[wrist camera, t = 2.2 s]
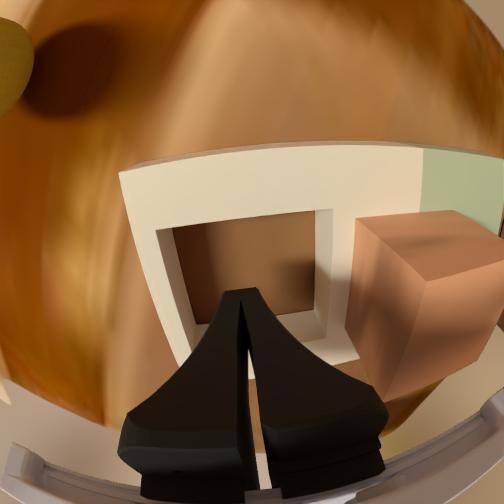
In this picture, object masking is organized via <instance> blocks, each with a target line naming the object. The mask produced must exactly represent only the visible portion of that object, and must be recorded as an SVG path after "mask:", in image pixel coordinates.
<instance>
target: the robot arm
mask: <svg viewBox="0 0 504 504" xmlns="http://www.w3.org/2000/svg"><path fill="white" fill-rule="evenodd" d="M248 349H249V354H250V358H251V363H252V367H253V371H254V375H255V380H256V387H257V395H258V404H259V413H260V422H261V428H262V434H263V439H264V445H265V450H266V456H267V463H268V470H269V476H270V480H271V485H272V489H263V490H260V484H259V477H258V470H257V464H256V456H255V448H254V441H253V433H252V424H251V416H250V407H249V392H248ZM388 419H389V414H388V411H387V409H386V406H385V404H384V403H383V401H382V399H381V398H380V396H379V395H378V393H377V392H376V391H375V389H374V388H373V386H371V385H369V384H366V383H364V382H362V381H360V380H357V379H355V378H353V377H351V376H349V375H347V374H345V373H343V372H341V371H340V370H338V369H336V368H334V367H333V366H331V365H330V364H328V363H327V362H325V361H324V360H322V359H321V358H319V357H318V356H317V355H315V354H314V353H313V352H311V351H310V350H309V349H308V348H306V347H305V346H304V345H303V344H302V343H300V342H299V341H298V340H297V339H296V338H295V337H294V336H293V335H292V334H291V333H290V332H289V331H288V330H287V329H286V328H285V327H284V326H283V325H282V323H281V322H280V321H279V320H278V319H277V317H276V316H275V315H274V314H273V312H272V311H271V310H270V308H269V307H268V305H267V304H266V302H265V301H264V299H263V298H262V296H261V294H260V292H259V289H257V288H256V287H254V288H246V289H238V290H230V291H225V292H224V293H223V294H222V297H221V300H220V303H219V305H218V308H217V310H216V312H215V314H214V316H213V318H212V320H211V322H210V324H209V326H208V328H207V329H206V331H205V333H204V335H203V336H202V338H201V340H200V341H199V343H198V344H197V346H196V347H195V349H194V350H193V351H192V353H191V354H190V355H189V357H188V358H187V359H186V361H185V362H184V363H183V364H182V365H181V367H180V368H179V369H178V370H177V371H176V372H175V373H174V374H173V376H172V377H171V378H170V379H169V380H168V381H166V382H165V383H164V384H163V385H162V386H161V387H160V388H159V389H158V390H157V391H156V392H155V393H154V394H152V395H151V396H150V397H149V398H148V399H146V400H145V401H143V402H142V403H141V404H139V405H138V406H137V407H135V408H134V409H133V410H131V411H130V412H128V413H127V416H126V419H125V421H124V424H123V427H122V431H121V436H120V441H119V446H118V451H117V453H118V456H119V457H120V458H121V459H122V460H123V461H124V462H125V463H126V464H127V465H129V466H130V467H132V468H133V469H134V470H136V471H137V472H139V473H140V474H141V475H142V478H141V487H138V486H132V485H126V484H121V483H117V482H112V481H107V480H103V479H99V478H95V477H92V476H88V475H84V474H81V473H78V472H74V471H71V470H68V469H65V468H63V467H60V466H57V465H54V464H52V463H49V462H47V461H44V459H43V458H41V457H40V456H38V455H37V454H36V453H34V452H32V451H30V450H29V449H27V448H25V447H22V446H20V445H18V444H16V443H12V445H11V448H10V451H9V454H8V457H7V461H6V464H5V467H4V471H3V475H2V479H1V483H0V488H1V489H2V490H3V491H4V492H6V493H7V494H9V495H10V496H12V497H14V498H15V499H16V500H18V501H20V502H21V503H23V504H446V503H448V502H449V501H451V500H452V499H454V498H455V497H457V496H458V495H459V494H461V493H462V492H463V491H465V490H466V489H467V488H469V487H470V486H471V485H473V484H474V483H475V482H476V481H478V480H479V479H480V478H481V477H483V476H484V475H485V474H486V473H487V472H488V471H490V470H491V469H492V468H493V467H494V466H495V465H496V464H497V463H498V462H499V461H500V460H501V459H503V457H504V387H503V388H502V389H500V390H499V391H498V392H496V393H495V394H494V395H493V396H492V397H490V398H489V399H488V400H487V401H486V402H485V403H484V405H483V406H482V407H481V408H480V410H479V411H478V412H476V413H475V414H473V415H472V416H470V417H469V418H467V419H466V420H464V421H462V422H461V423H460V424H458V425H456V426H454V427H453V428H451V429H449V430H447V431H445V432H444V433H442V434H440V435H438V436H437V437H434V438H433V439H431V440H429V441H427V442H425V443H423V444H421V445H419V446H417V447H415V448H412V449H410V450H408V451H406V452H403V453H401V454H399V455H396V456H394V457H392V458H389V459H387V460H384V461H383V459H382V456H381V454H380V451H379V449H380V448H381V443H380V441H379V438H378V436H379V434H380V433H381V431H382V430H383V428H384V427H385V425H386V423H387V421H388Z"/></svg>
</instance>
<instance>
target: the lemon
mask: <svg viewBox="0 0 504 504" xmlns="http://www.w3.org/2000/svg"><path fill="white" fill-rule="evenodd" d="M33 64H34V47H33V44H32V40H31V37H30V36H29V34H28V33H27V32H26V30H25V29H24V28H23V27H22V26H21V25H19V24H18V23H16V22H14V21H11V20H8V19H5V18H1V17H0V118H1V117H2V116H3V115H4V114H5V113H7V112H8V111H9V110H10V109H11V108H12V107H13V105H14V104H15V103H16V102H17V100H18V99H19V98H20V96H21V95H22V93H23V92H24V90H25V88H26V86H27V84H28V81H29V79H30V76H31V73H32V70H33Z"/></svg>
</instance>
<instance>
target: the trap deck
mask: <svg viewBox="0 0 504 504" xmlns="http://www.w3.org/2000/svg"><path fill="white" fill-rule="evenodd" d="M119 178H120V183H121V187H122V192H123V197H124V201H125V205H126V210H127V214H128V218H129V222H130V226H131V230H132V233H133V237H134V241H135V244H136V248H137V251H138V255H139V258H140V262H141V265H142V268H143V271H144V275H145V278H146V281H147V284H148V287H149V290H150V293H151V296H152V299H153V302H154V304H155V307H156V310H157V313H158V315H159V318H160V321H161V324H162V326H163V329H164V331H165V334H166V336H167V339H168V341H169V344H170V346H171V349H172V351H173V354H174V356H175V358H176V361H177V363H178V365H179V368H180V367H181V365H182V364H183V363H184V362H185V361H186V359H187V358H188V357H189V355H190V354H191V353H192V351H193V350H194V349H195V347H196V346H197V344H198V343H199V341H200V340H201V338H202V336H203V335H204V333H205V331H206V329H207V328H208V326H209V324H201V325H196V322H195V319H194V315H193V312H192V308H191V305H190V301H189V297H188V294H187V290H186V286H185V282H184V278H183V274H182V270H181V266H180V262H179V258H178V254H177V250H176V245H175V241H174V237H173V232H172V227H179V226H186V225H193V224H200V223H208V222H215V221H223V220H231V219H238V218H247V217H255V216H264V215H272V214H282V213H291V212H301V211H311V210H315V292H314V310H309V311H303V312H297V313H290V314H284V315H277V316H276V317H277V319H278V320H279V321H280V322H281V323H282V325H283V326H284V327H285V328H286V329H287V330H288V331H289V332H290V333H291V334H292V335H293V336H294V337H295V338H296V339H297V340H298V341H299V342H300V343H302V344H303V345H304V346H305V347H306V348H308V349H309V350H310V351H311V352H313V353H314V354H315V355H317V356H318V357H319V358H321V359H322V360H324V361H325V362H327V363H328V364H330V365H335V364H339V363H344V362H348V361H352V360H356V359H360V358H359V356H358V354H357V352H356V350H355V348H354V346H353V344H352V342H351V340H350V338H349V336H348V334H347V332H346V330H345V321H346V314H347V307H348V299H349V290H350V281H351V271H352V260H353V248H354V233H355V218H360V217H371V216H382V215H393V214H405V213H417V212H430V211H443V210H455V211H456V212H458V213H460V214H462V215H464V216H465V217H467V218H469V219H471V220H472V221H474V222H476V223H478V224H479V225H481V226H483V227H484V228H486V229H488V230H489V231H491V232H492V233H494V234H496V235H497V236H498V231H499V227H500V222H501V216H502V211H503V204H504V159H503V158H500V157H496V156H493V155H490V154H487V153H483V152H478V151H472V150H466V149H460V148H452V147H445V146H436V145H427V144H416V143H403V142H385V141H304V142H286V143H271V144H260V145H249V146H240V147H231V148H223V149H216V150H209V151H202V152H195V153H189V154H183V155H178V156H172V157H167V158H162V159H157V160H152V161H147V162H142V163H138V164H136V165H134V166H132V167H130V168H127V169H125V170H123V171H121V172H119ZM254 378H255V375H254V371H253V367H252V363H251V358H250V354H249V349H248V379H254Z"/></svg>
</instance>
